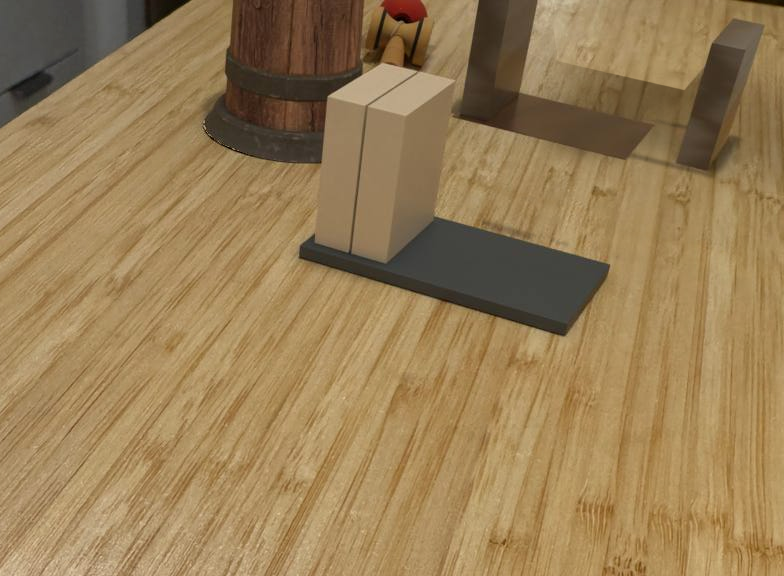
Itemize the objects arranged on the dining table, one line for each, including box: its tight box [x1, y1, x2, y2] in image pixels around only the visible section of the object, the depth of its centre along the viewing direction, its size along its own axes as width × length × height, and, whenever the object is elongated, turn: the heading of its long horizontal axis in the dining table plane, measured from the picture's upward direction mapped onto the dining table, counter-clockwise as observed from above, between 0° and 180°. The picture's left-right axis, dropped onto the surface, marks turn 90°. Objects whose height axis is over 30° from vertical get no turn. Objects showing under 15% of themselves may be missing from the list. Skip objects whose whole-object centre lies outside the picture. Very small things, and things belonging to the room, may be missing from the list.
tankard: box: [204, 0, 365, 164], centre depth 106 cm, size 24×17×20 cm
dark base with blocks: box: [298, 63, 611, 336], centre depth 87 cm, size 22×12×12 cm, turn 63°
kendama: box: [364, 0, 435, 68], centre depth 126 cm, size 8×6×18 cm
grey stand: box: [451, 0, 765, 172], centre depth 111 cm, size 26×12×12 cm, turn 63°
